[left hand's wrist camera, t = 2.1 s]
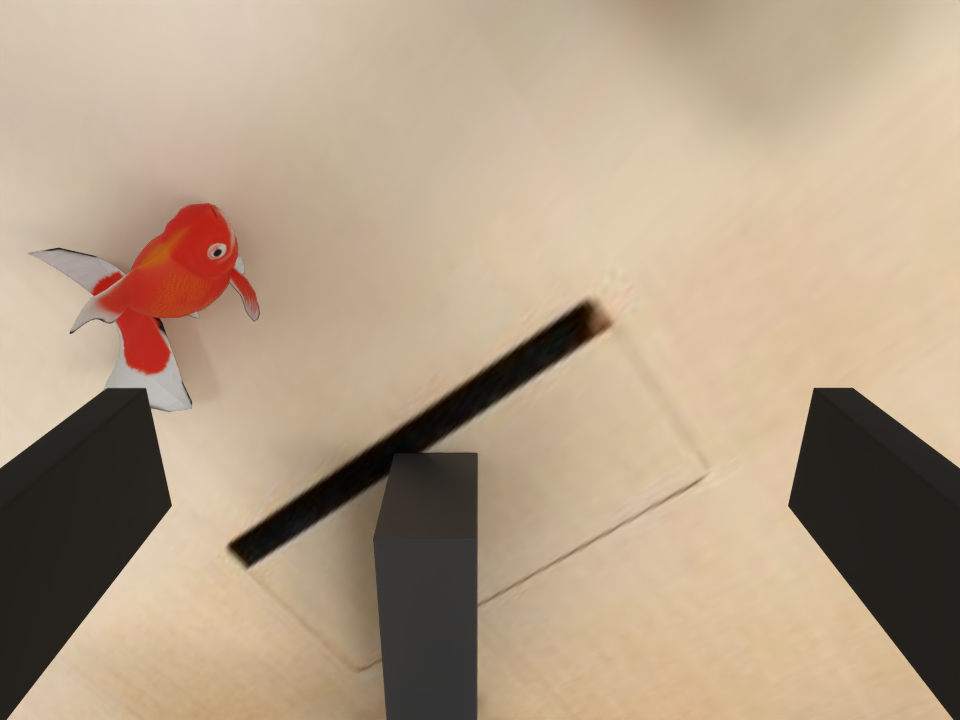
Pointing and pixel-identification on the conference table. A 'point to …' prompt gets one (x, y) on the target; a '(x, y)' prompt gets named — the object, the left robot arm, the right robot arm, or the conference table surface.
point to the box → (429, 586)
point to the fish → (159, 296)
